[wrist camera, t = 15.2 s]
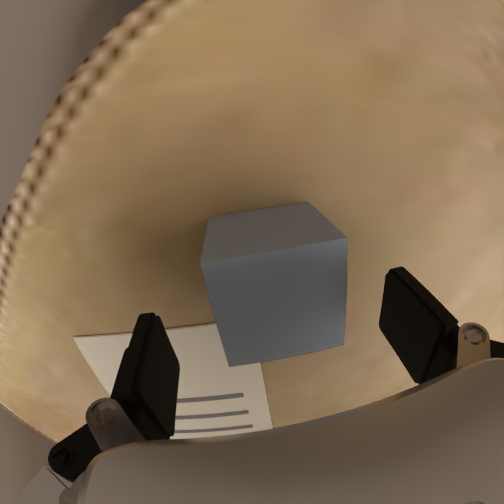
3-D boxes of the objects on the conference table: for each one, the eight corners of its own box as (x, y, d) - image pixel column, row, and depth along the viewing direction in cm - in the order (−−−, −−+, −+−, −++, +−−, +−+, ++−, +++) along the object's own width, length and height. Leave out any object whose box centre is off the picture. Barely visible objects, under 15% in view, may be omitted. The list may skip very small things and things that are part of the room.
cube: (308, 201, 17) (346, 238, 11) (313, 286, 19) (343, 344, 14) (208, 218, 16) (199, 263, 11) (227, 302, 19) (229, 367, 14)
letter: (252, 317, 19) (252, 319, 19) (276, 445, 28) (276, 447, 28) (73, 336, 19) (72, 338, 19) (159, 452, 28) (159, 454, 28)
